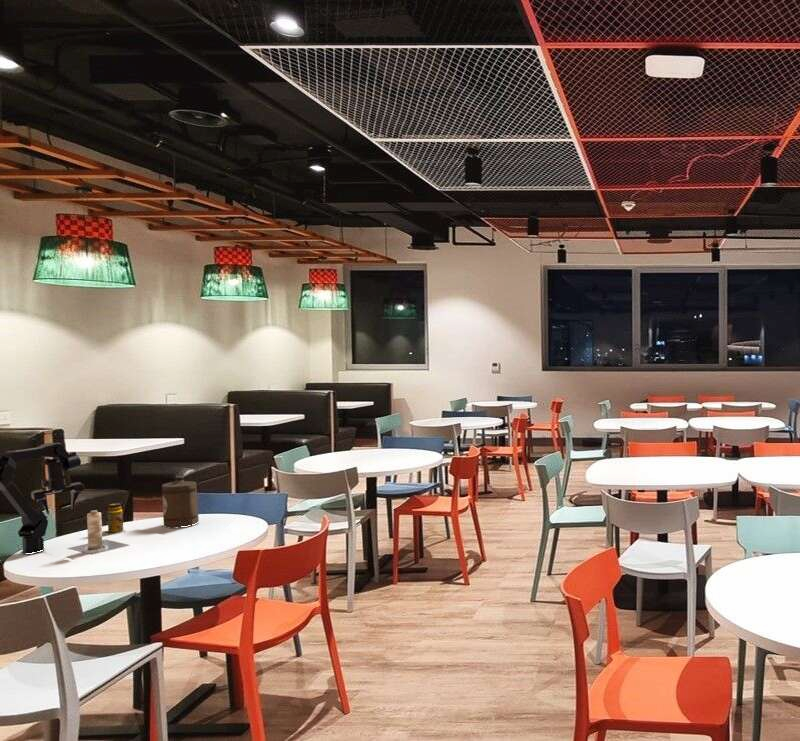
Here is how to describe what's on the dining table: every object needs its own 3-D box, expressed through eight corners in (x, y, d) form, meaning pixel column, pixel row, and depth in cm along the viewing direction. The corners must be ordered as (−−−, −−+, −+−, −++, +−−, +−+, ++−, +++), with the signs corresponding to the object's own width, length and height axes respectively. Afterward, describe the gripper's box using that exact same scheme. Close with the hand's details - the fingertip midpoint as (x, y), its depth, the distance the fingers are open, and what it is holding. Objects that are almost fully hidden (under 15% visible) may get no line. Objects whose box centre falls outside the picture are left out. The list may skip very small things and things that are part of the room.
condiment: (126, 532, 314) (124, 504, 314) (105, 535, 310) (103, 506, 309) (122, 529, 320) (120, 501, 320) (101, 532, 316) (100, 504, 315)
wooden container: (170, 521, 333) (168, 472, 332) (203, 520, 332) (201, 471, 332) (158, 529, 318) (156, 478, 318) (192, 528, 317) (190, 477, 317)
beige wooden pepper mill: (90, 552, 277) (89, 512, 277) (86, 550, 281) (85, 511, 281) (104, 550, 280) (102, 510, 280) (100, 547, 284) (98, 509, 284)
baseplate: (91, 556, 274) (91, 551, 274) (67, 550, 286) (67, 545, 286) (130, 547, 287) (130, 542, 287) (105, 541, 298) (105, 536, 298)
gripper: (75, 466, 307) (79, 503, 308) (26, 475, 296) (30, 513, 297) (82, 470, 298) (86, 507, 299) (32, 479, 287) (36, 518, 288)
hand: (60, 511), depth 296 cm, fingers open, 9 cm apart
